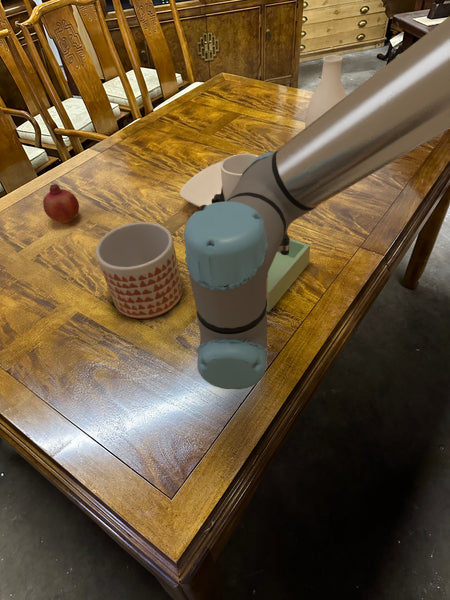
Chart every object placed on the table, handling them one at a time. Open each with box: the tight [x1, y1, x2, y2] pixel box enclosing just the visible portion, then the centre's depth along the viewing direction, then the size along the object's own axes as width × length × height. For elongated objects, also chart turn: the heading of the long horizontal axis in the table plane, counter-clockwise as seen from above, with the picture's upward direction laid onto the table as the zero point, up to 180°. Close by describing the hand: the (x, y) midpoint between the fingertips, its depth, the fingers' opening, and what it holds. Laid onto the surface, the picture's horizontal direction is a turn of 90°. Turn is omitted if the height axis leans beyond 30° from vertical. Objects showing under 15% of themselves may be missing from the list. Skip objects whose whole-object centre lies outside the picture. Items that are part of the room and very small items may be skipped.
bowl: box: [178, 160, 224, 208], centre depth 102 cm, size 22×22×5 cm
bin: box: [267, 237, 311, 312], centre depth 83 cm, size 16×16×5 cm
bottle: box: [304, 54, 348, 129], centre depth 106 cm, size 11×11×25 cm
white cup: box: [221, 153, 260, 202], centre depth 68 cm, size 7×7×15 cm
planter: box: [95, 221, 184, 320], centre depth 78 cm, size 14×14×13 cm
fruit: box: [42, 183, 80, 224], centre depth 100 cm, size 8×8×10 cm
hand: (246, 186), depth 71 cm, fingers closed on white cup, 6 cm apart
